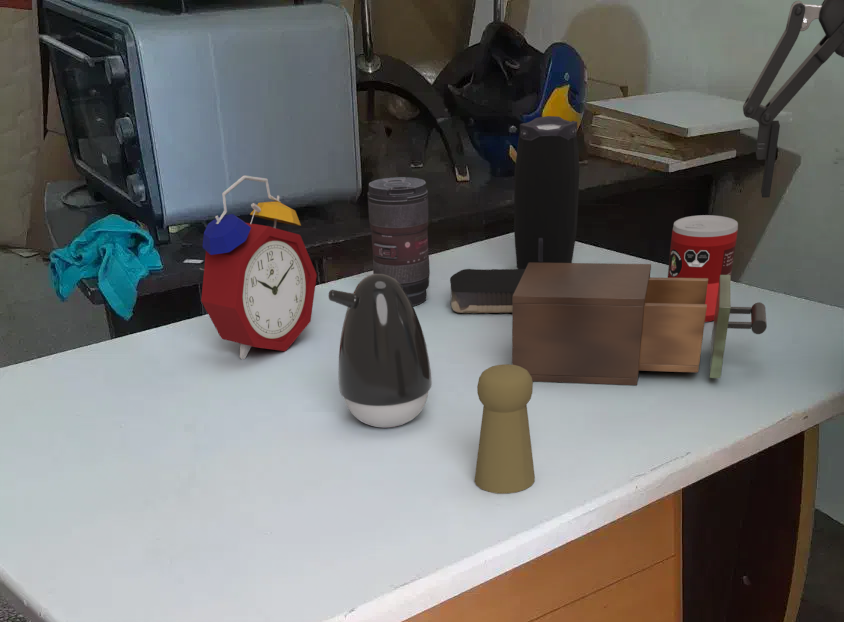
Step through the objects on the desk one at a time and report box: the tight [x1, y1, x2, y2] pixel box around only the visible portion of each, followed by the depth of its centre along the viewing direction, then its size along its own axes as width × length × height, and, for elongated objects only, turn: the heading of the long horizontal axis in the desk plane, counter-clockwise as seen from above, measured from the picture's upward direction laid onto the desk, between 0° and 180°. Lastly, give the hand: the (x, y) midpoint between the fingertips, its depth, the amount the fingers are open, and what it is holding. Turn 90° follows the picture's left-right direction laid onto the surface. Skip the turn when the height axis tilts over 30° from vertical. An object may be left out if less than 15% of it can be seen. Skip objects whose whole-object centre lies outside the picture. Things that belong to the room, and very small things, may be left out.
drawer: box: [639, 275, 767, 379], centre depth 117 cm, size 18×11×8 cm, turn 77°
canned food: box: [667, 214, 739, 323], centre depth 130 cm, size 8×8×11 cm
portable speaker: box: [513, 115, 581, 269], centre depth 143 cm, size 9×9×20 cm
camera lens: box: [367, 176, 431, 307], centre depth 139 cm, size 8×8×15 cm
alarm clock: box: [199, 174, 318, 361], centre depth 126 cm, size 15×9×20 cm, turn 143°
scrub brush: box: [449, 268, 525, 314], centre depth 139 cm, size 16×8×4 cm, turn 80°
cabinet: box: [511, 262, 652, 386], centre depth 120 cm, size 15×13×10 cm
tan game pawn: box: [473, 363, 536, 494], centre depth 97 cm, size 6×6×11 cm
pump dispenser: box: [327, 274, 433, 429], centre depth 108 cm, size 10×10×15 cm
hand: (833, 193), depth 106 cm, fingers open, 13 cm apart
